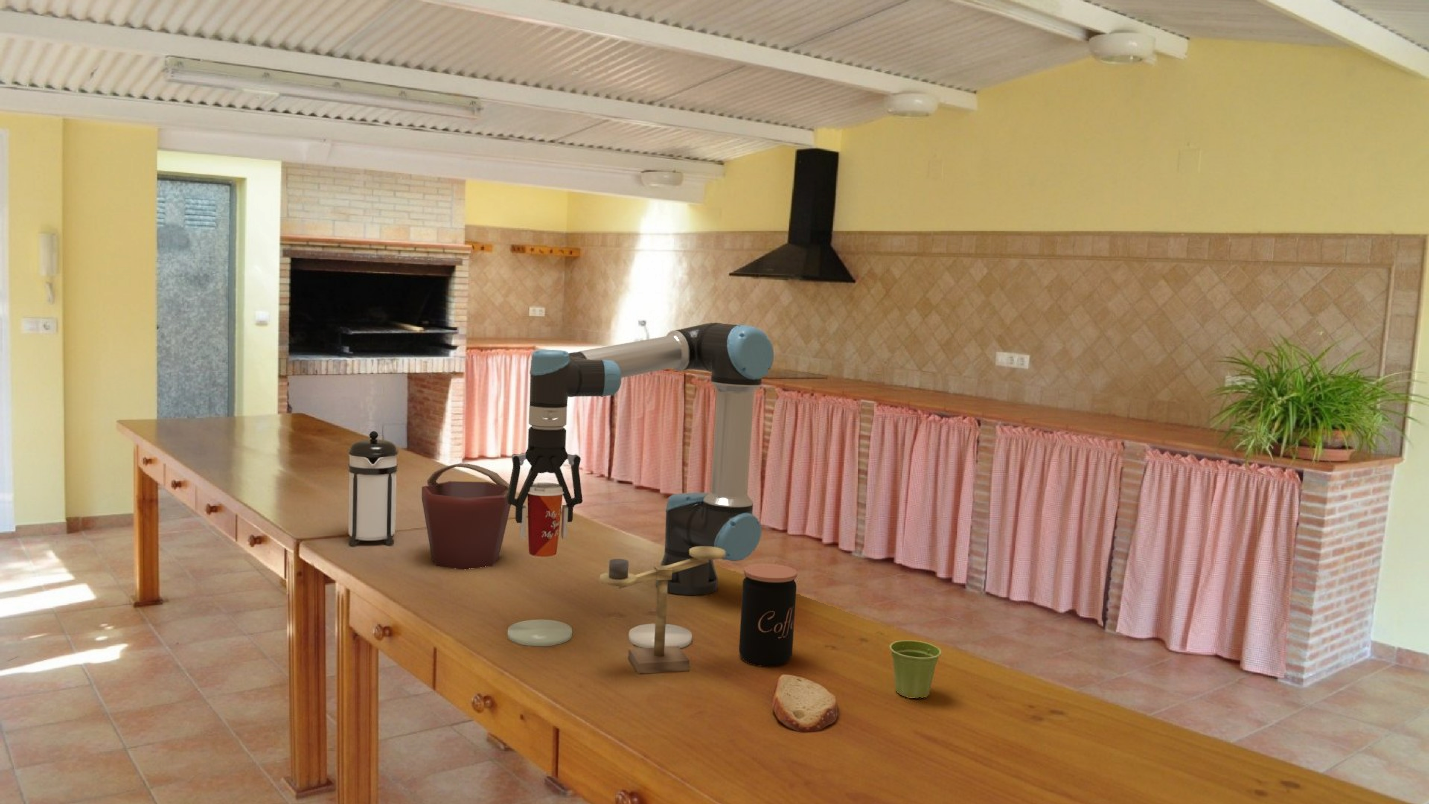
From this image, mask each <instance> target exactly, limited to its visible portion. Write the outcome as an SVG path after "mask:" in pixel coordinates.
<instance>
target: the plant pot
mask: <svg viewBox="0 0 1429 804" xmlns="http://www.w3.org/2000/svg"><path fill="white" fill-rule="evenodd" d="M889 650H890V651H891V657H892V659H893V673H894V686H895V687H894V688H895V692H896V691H897V692H896V693H897V694H898V693H899V694H901V695H903V696H908V697H915V698H916V699H920V698H919V697H924V696H928V695H929V696H930V691H931V688H932V682H933V678H934V674H935V669H936V666H937V665H936V664H937V663H938V661H939V657H941V655H942V650H941V649H940V647H938V646H936V645H935V644H932V643H929V642H925V641H920V640H913V639H910V640H909V639H907V640H906V639H904V640H897V641H893V642H892V643H890V645H889ZM899 694H898V695H899ZM929 696H928V697H929Z"/></svg>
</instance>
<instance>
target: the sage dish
mask: <svg viewBox="0 0 1429 804" xmlns="http://www.w3.org/2000/svg"><path fill="white" fill-rule="evenodd" d="M572 634H573V629H572V627H571V626H570V625H569V624H567V623H564V622H561V621H559V620H553V619H552V620H551V619H529V620H527V619H526V620H523V621H519V622H516V623H513V624H511V625H510V626H509V627H508V629H507V638H508V639H509V641H511V642H513V643H516V644H519V645H522V646H528V647H550V646H552V647H553V646H557V644H558V645H561V644H564V643H566V642H568V641H570V640H571V638H572Z"/></svg>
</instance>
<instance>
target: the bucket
mask: <svg viewBox="0 0 1429 804" xmlns="http://www.w3.org/2000/svg"><path fill="white" fill-rule="evenodd" d="M453 468H466V469H470V470H473V471H474V472H478V473H480V474H483V475H484V476H486V477H488V478H489V479H490V480H491V481H492V482H490V481H464V480H463V481H457V480H456V481H455V480H453V481H451V480H449V481H444V482H437V481H438V479H439V478H440V477H441V475H443V474H444V473H445V472H447V471H449V470H451V469H453ZM426 482H427V485H425V486H422V487H421V502H422V508H423V514H424V519H425V526H426V530H427V531H426V532H427V537H428V543H429V550H430V555H431V559H432V561H433V563H434V564H435V566H436V567H441V568H447V569H454V568H456V569H455V570H461V569H462V571H463V570H464V569H466V570H472V569H471V568H474V569H481V568H480V567H482V568H488V567H487V566H490V567H492V566H494V565H495V564H496V563H497V561H498V560H499V559H500V556H501V555H500V554H501V550H502V546H503V543H504V542H503V541H504V537H505V533H506V528H507V524H508V518H509V515H510V511H511V506H512V505H510V504H509V503H508V502H507V495H508V490H509V484H510V482H507V481H506V480H505V479H503V477H501V476H500V475H499V473H497V472H495V471H493V470H490V469H488V468H485V467H482V466H480V465H475V464H471V463H463V462H462V463H461V462H460V463H455V464H451V465H448V466H444V467H442V468H440V469H437V470H436V471H434V472H433V473H432V474H431V475H430V476H429V478H428V479H427V481H426ZM497 559H498V560H497ZM485 566H486V567H485ZM469 568H470V569H469ZM464 571H465V570H464Z"/></svg>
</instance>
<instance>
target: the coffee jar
mask: <svg viewBox="0 0 1429 804" xmlns="http://www.w3.org/2000/svg"><path fill="white" fill-rule="evenodd" d="M743 575H744V576H745V577H744V579H743V580H742V588H741V589H742V591H741V593H742V594H741V608H740V609H741V610H740V628H739V642H738V643H739V645H738V653H739V655H740V657H741V659H742V660H743V659H744V660H743V661H744V662H746V661H747V662H746V663H748V664H750V663H751V665H753V664H755V665H754V666H757V665H761V666H760V667H765V666H769V668H771V666H774V667H780V666H784V665H786V664H787V663H788V662H789V661H790V660H791V658H792V656H793V650H794V649H793V646H794V645H793V644H794V630H795V616H796V615H795V614H796V601H797V583H796V581H795V580H796V579H797V577H798V572H797V570H796V569H794V568H793V567H790V566H786V565H783V564H776V563H765V562H763V563H753V564H749V565H746V566H745V567H744V568H743ZM785 663H786V664H785ZM783 664H784V665H783Z"/></svg>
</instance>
